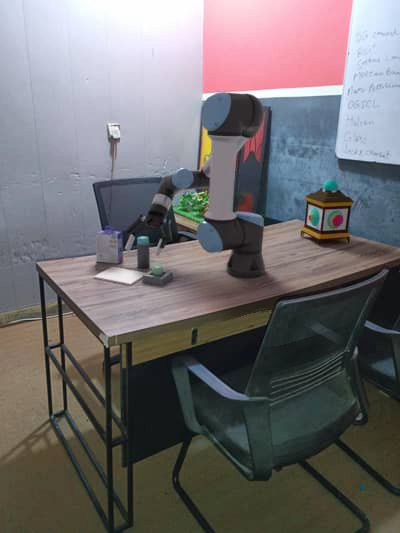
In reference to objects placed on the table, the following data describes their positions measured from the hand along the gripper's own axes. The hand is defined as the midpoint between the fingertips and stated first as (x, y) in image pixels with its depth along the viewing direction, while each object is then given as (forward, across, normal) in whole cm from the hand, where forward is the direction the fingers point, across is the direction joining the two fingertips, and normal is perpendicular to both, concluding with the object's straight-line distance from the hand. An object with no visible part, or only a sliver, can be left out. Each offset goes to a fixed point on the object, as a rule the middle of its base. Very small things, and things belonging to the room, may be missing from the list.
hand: (141, 252), depth 171 cm
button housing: (+11, -13, +3) cm, 17 cm away
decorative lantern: (-49, -59, -58) cm, 96 cm away
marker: (+4, -1, -4) cm, 6 cm away
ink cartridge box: (+4, +15, -4) cm, 17 cm away
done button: (+10, -13, +4) cm, 16 cm away
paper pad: (+13, +1, +5) cm, 14 cm away
